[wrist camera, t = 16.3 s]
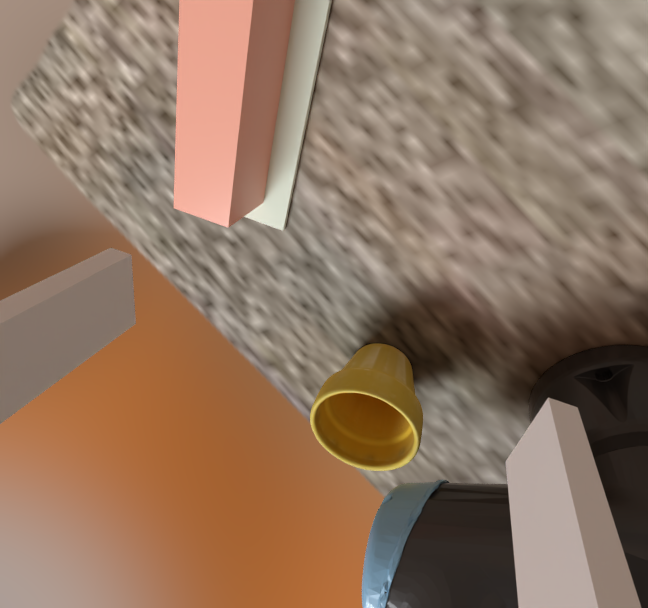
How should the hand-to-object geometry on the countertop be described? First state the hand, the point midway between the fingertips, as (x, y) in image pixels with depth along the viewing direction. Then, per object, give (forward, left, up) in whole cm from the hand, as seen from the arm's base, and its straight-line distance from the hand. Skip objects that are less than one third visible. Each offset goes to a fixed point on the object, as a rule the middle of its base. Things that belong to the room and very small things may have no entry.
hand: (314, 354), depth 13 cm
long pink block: (+3, +15, -26) cm, 30 cm away
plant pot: (-21, -4, -27) cm, 34 cm away
